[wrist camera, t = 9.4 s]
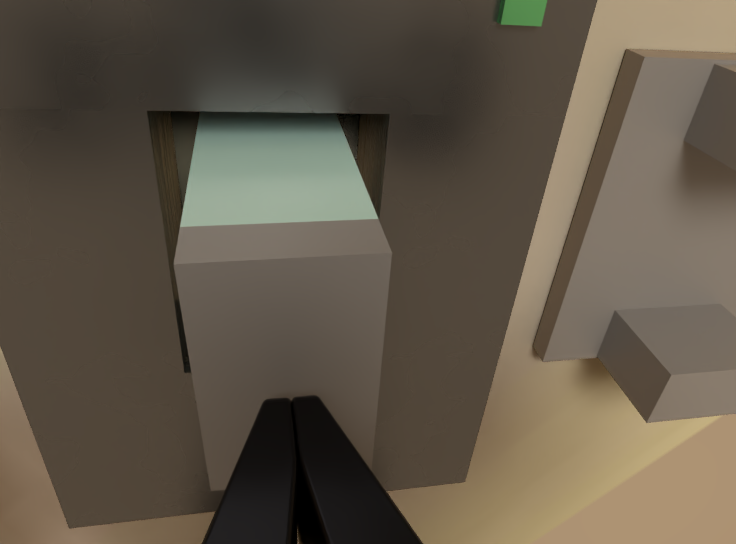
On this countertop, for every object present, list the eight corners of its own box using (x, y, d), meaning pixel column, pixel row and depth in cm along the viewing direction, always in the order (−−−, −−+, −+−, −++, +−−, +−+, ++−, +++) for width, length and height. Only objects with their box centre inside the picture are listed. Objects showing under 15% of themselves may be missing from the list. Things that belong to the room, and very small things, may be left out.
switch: (438, 412, 21) (466, 487, 18) (91, 444, 19) (67, 534, 16) (573, -226, 11) (675, -258, 8) (-139, -327, 9) (-298, -414, 6)
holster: (728, 332, 22) (809, 408, 18) (532, 346, 20) (585, 431, 17) (880, 59, 16) (1033, 102, 13) (626, 49, 14) (730, 95, 11)
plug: (326, 268, 17) (371, 471, 11) (221, 274, 16) (210, 491, 10) (329, 98, 14) (392, 252, 8) (201, 98, 13) (173, 264, 8)
